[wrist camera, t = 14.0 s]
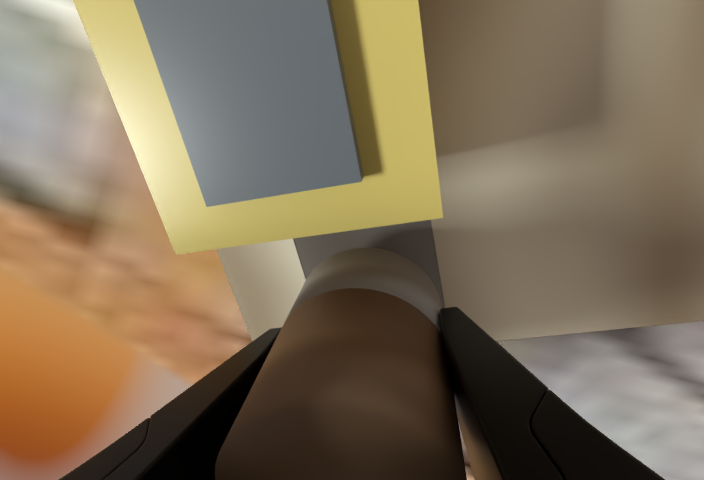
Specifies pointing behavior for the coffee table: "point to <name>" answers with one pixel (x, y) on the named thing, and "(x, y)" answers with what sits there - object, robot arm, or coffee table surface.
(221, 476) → the peg
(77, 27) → the coffee table surface
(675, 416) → the coffee table surface
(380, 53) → the block
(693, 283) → the plywood panel
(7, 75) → the coffee table surface
